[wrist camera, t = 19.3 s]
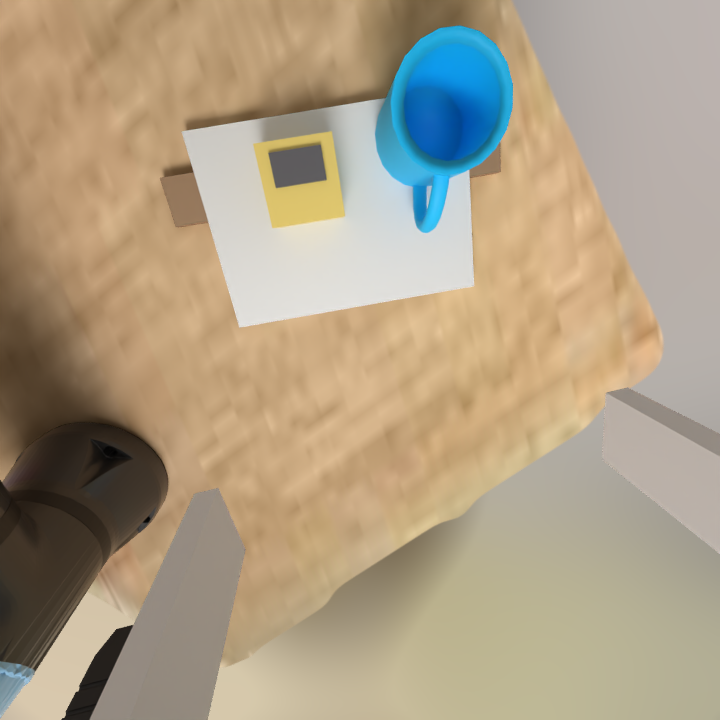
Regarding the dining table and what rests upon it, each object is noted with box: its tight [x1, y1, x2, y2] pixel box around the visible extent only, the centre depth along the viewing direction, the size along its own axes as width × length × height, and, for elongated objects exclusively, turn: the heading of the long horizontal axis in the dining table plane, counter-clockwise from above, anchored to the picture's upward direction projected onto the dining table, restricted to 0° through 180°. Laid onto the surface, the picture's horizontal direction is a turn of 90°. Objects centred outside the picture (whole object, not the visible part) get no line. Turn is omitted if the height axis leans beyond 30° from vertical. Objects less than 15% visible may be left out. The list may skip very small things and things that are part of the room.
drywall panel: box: [160, 98, 501, 327], centre depth 33 cm, size 30×17×1 cm, turn 99°
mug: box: [375, 26, 513, 233], centre depth 27 cm, size 12×8×8 cm
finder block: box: [253, 131, 345, 228], centre depth 29 cm, size 6×6×4 cm
